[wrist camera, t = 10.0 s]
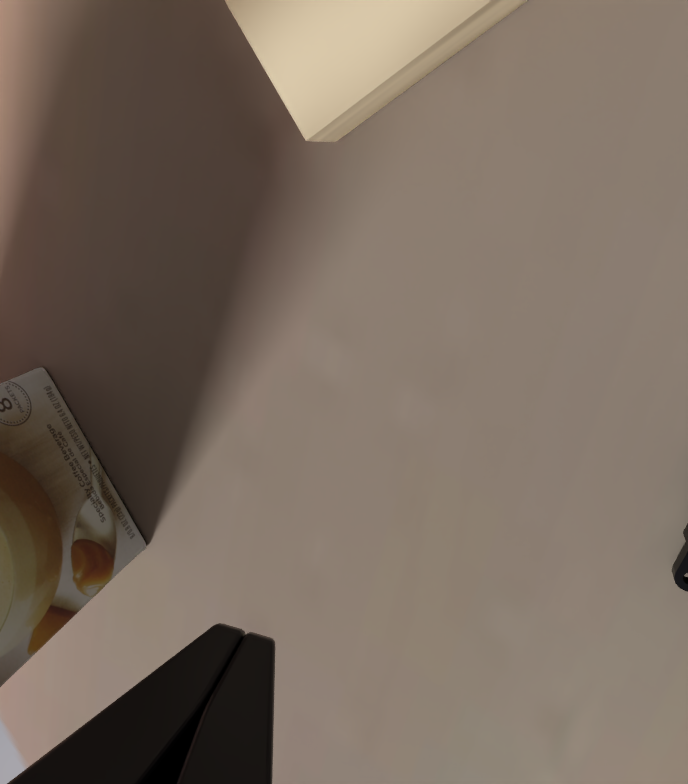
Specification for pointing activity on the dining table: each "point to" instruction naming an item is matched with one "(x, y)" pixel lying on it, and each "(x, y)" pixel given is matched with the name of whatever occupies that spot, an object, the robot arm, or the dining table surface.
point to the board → (356, 51)
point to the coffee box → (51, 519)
